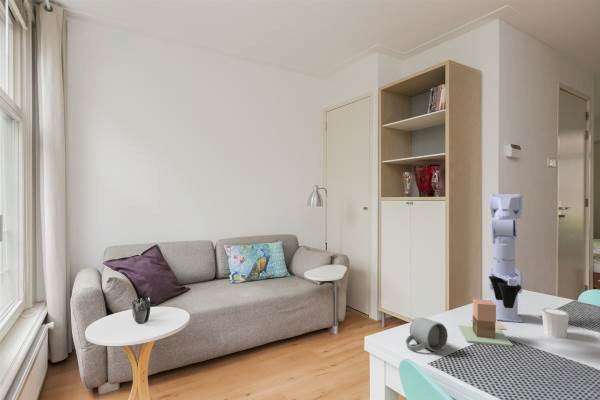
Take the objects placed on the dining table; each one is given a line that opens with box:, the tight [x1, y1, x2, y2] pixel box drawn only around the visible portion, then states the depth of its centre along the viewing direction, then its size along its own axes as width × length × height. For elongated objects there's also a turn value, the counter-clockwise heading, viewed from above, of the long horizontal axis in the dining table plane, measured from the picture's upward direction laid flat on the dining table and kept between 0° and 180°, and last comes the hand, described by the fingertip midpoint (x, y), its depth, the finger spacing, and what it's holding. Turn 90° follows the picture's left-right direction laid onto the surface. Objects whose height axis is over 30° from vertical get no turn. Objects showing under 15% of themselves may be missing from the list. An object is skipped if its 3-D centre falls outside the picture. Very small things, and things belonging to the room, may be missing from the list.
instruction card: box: [470, 319, 507, 331], centre depth 111 cm, size 6×9×1 cm, turn 76°
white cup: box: [541, 307, 570, 339], centre depth 103 cm, size 7×7×7 cm
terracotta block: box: [472, 298, 497, 322], centre depth 102 cm, size 5×5×5 cm
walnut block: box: [472, 314, 495, 338], centre depth 102 cm, size 5×5×5 cm
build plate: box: [457, 325, 514, 347], centre depth 102 cm, size 12×12×1 cm
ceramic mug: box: [405, 317, 449, 353], centre depth 95 cm, size 11×8×8 cm
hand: (504, 303), depth 101 cm, fingers open, 7 cm apart
